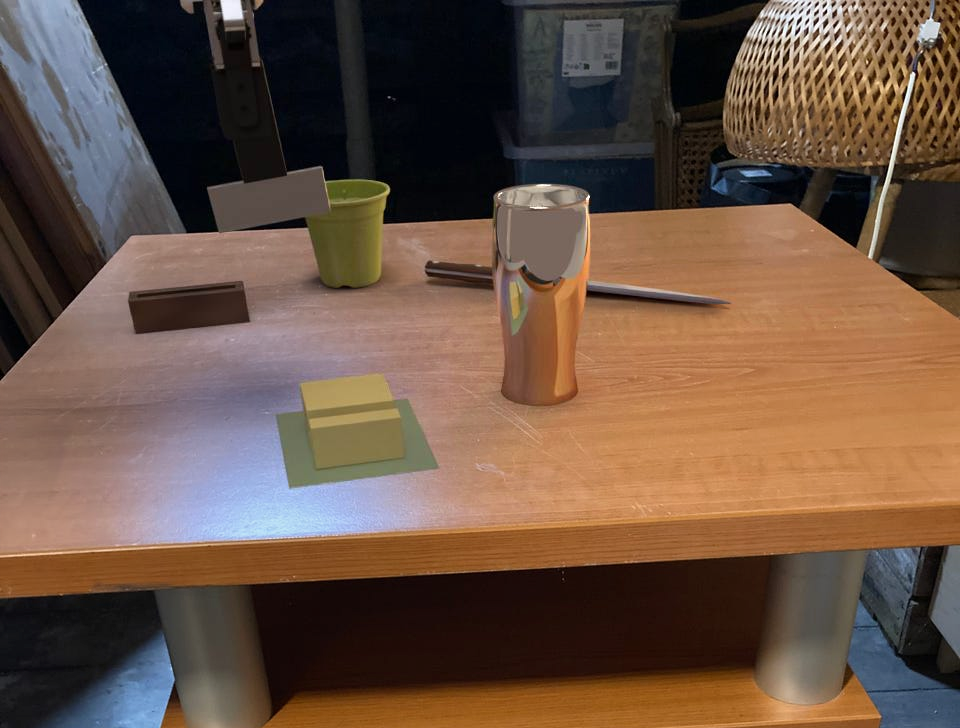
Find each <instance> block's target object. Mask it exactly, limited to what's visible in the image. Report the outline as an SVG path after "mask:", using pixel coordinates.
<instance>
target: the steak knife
mask: <svg viewBox="0 0 960 728" xmlns="http://www.w3.org/2000/svg"><path fill="white" fill-rule="evenodd" d="M424 272H425V273H424V274H425V275H426V276H427V277H429V278H437V279H446V280H455V281H461V282H467V283H475V284H491V285H493V278H492V266H485V265H481V264H476V263H455V262H445V261H438V260H428V261H427V262H426V264H425V265H424ZM587 291H590V292H599V293H609V294H617V295H618V294H619V295H625V296H633V297H636V296H637V297H643V298H654V299H661V300H662V299H663V300H671V301H680V302H681V301H682V302H690V303H698V304H706V305H707V304H708V305H732V302H731V301H728V300H724V299H720V298H715V297H711V296H705V295H698V294H692V293H687V292H679V291H674V290H667V289H660V288H652V287H646V286H638V285H631V284H622V283H615V282H606V281H599V280H590V279H588V285H587Z"/></svg>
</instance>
